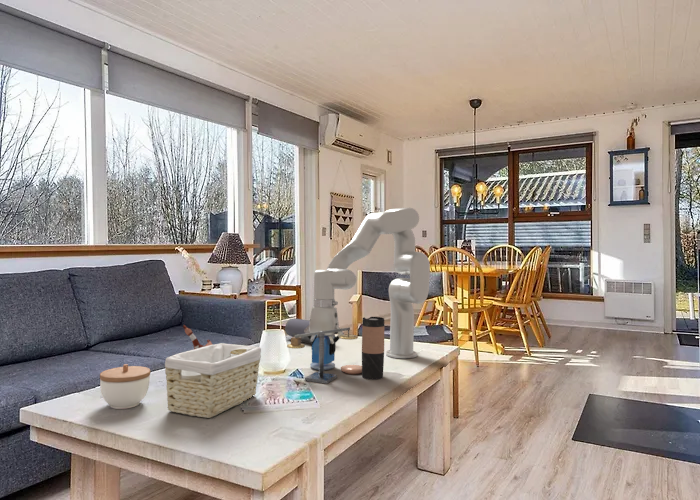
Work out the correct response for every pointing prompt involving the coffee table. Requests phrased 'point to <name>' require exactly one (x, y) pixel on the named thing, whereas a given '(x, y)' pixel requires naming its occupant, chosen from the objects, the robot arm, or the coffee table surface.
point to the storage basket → (211, 378)
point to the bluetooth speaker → (298, 328)
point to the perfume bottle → (327, 356)
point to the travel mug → (372, 348)
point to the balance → (320, 353)
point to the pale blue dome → (326, 366)
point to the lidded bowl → (124, 385)
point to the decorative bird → (194, 339)
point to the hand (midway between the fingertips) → (323, 352)
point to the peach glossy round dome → (352, 369)
